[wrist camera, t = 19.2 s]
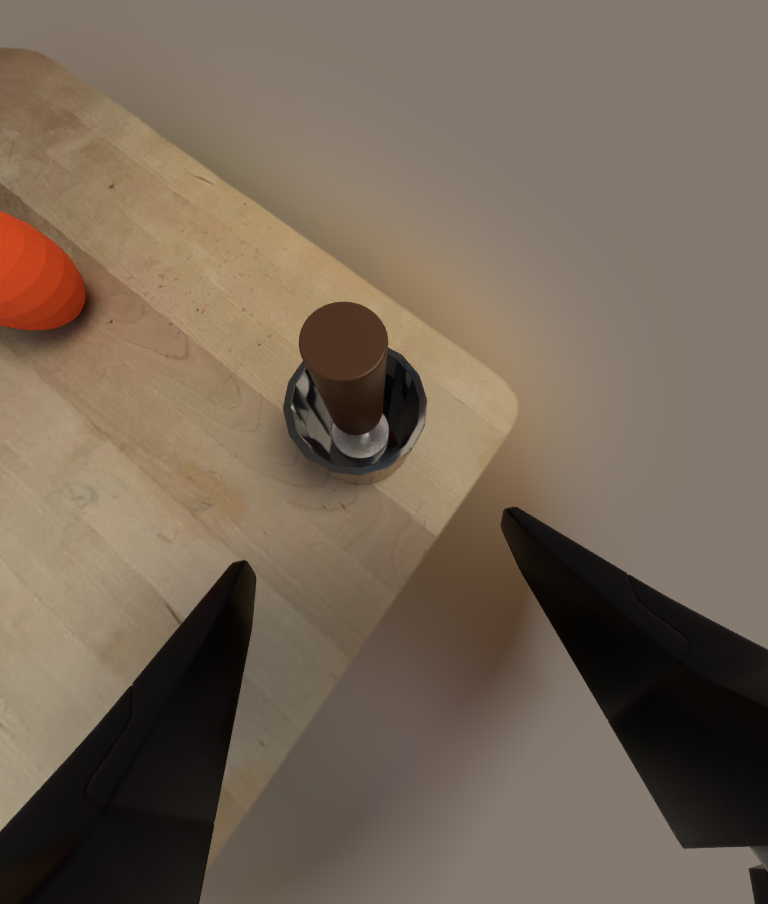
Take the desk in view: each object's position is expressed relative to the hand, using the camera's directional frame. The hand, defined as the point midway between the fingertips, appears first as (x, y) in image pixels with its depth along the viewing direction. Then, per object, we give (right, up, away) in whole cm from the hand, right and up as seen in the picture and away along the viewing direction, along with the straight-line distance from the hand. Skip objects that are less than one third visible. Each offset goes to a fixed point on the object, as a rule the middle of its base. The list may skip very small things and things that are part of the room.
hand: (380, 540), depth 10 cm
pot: (-1, +4, +11) cm, 12 cm away
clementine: (-25, +15, +12) cm, 31 cm away
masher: (-1, +4, +10) cm, 11 cm away
